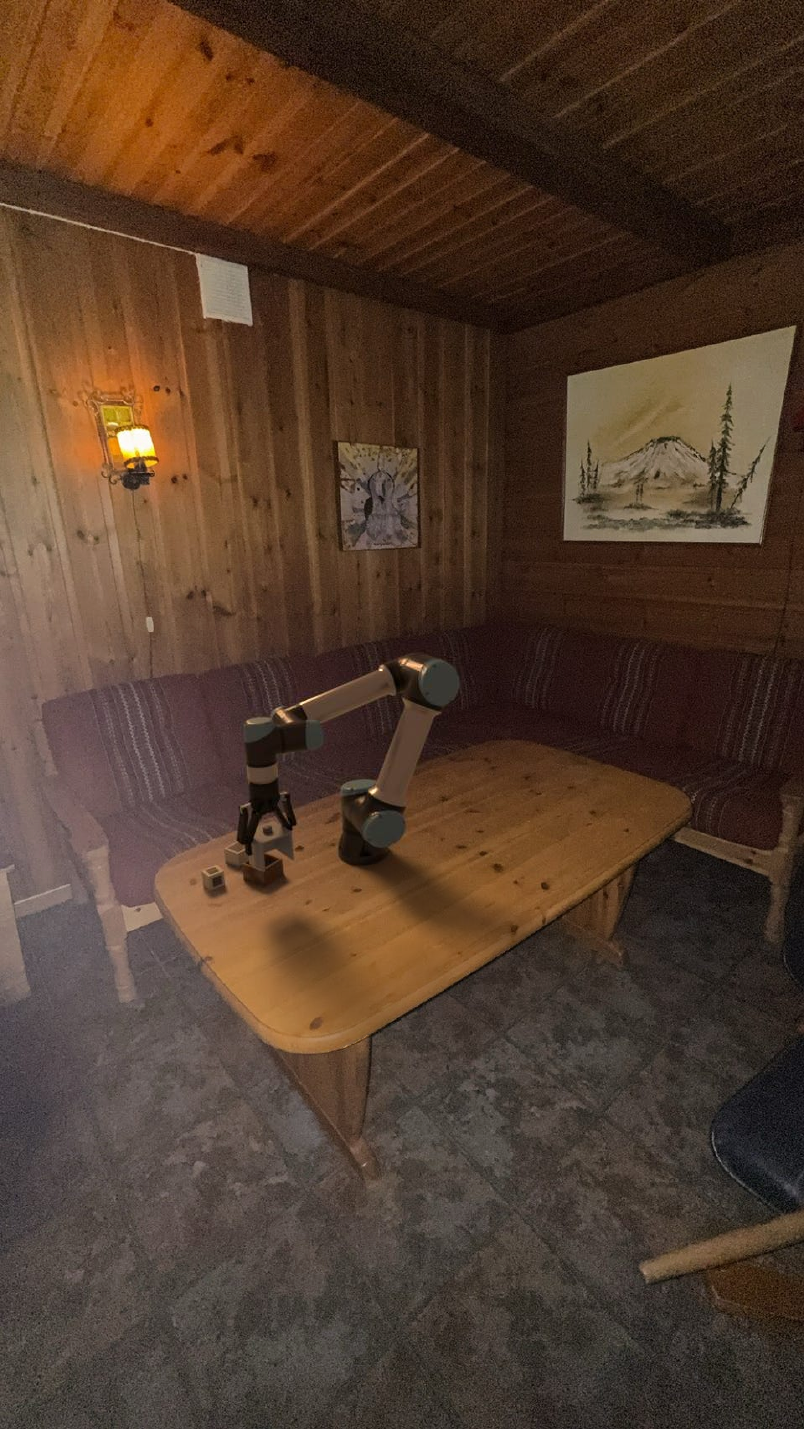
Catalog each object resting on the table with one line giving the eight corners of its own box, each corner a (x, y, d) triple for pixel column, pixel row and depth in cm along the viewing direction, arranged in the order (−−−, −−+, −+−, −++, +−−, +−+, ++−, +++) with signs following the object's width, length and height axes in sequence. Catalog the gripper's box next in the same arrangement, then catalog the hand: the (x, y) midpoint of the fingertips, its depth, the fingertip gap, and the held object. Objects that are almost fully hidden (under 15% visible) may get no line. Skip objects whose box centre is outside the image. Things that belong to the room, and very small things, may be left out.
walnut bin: (283, 874, 179) (282, 858, 178) (263, 887, 173) (262, 871, 172) (263, 866, 184) (262, 851, 182) (243, 879, 177) (241, 863, 176)
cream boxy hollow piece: (225, 885, 175) (223, 870, 173) (210, 891, 172) (208, 876, 170) (218, 878, 178) (216, 864, 177) (203, 884, 175) (201, 870, 174)
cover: (294, 859, 163) (291, 827, 160) (263, 871, 157) (260, 839, 155) (276, 847, 170) (273, 816, 167) (246, 859, 164) (243, 827, 161)
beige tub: (254, 858, 188) (253, 845, 187) (239, 867, 184) (237, 853, 182) (240, 853, 192) (239, 840, 190) (225, 862, 187) (223, 848, 186)
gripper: (291, 764, 167) (297, 840, 173) (216, 786, 153) (224, 867, 159) (307, 771, 161) (312, 849, 168) (230, 795, 147) (238, 879, 154)
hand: (269, 858), depth 163 cm, fingers closed on cover, 9 cm apart
